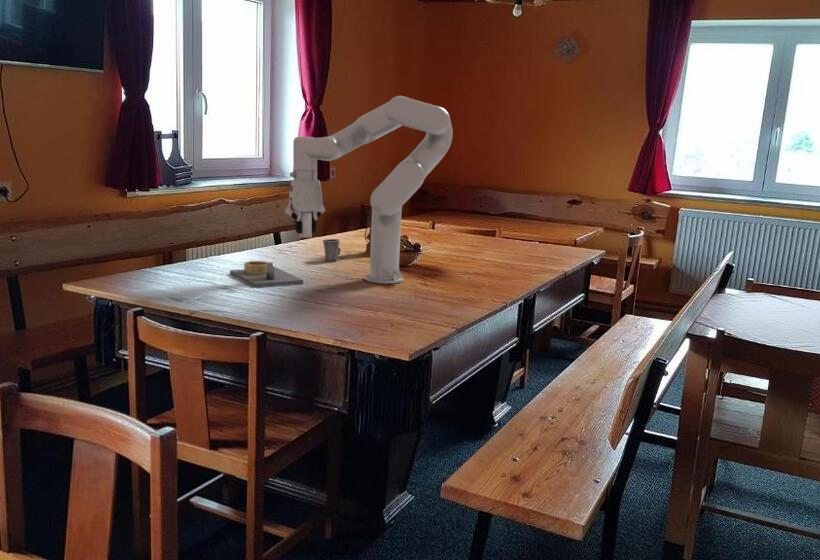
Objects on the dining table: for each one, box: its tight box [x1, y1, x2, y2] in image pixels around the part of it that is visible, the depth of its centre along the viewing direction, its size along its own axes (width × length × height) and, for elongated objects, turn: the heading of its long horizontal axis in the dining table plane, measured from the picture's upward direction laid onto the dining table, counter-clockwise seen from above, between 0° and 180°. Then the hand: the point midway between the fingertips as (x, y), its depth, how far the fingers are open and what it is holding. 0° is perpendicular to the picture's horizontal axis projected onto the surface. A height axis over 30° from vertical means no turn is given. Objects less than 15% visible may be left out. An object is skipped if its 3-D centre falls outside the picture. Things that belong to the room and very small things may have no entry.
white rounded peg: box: [298, 212, 313, 239], centre depth 242 cm, size 4×4×8 cm
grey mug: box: [322, 238, 341, 263], centre depth 276 cm, size 6×13×8 cm, turn 173°
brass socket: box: [243, 260, 269, 275], centre depth 241 cm, size 8×8×3 cm
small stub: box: [266, 261, 276, 280], centre depth 232 cm, size 3×3×5 cm
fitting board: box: [229, 266, 304, 288], centre depth 238 cm, size 22×16×1 cm
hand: (305, 232), depth 242 cm, fingers closed on white rounded peg, 4 cm apart
